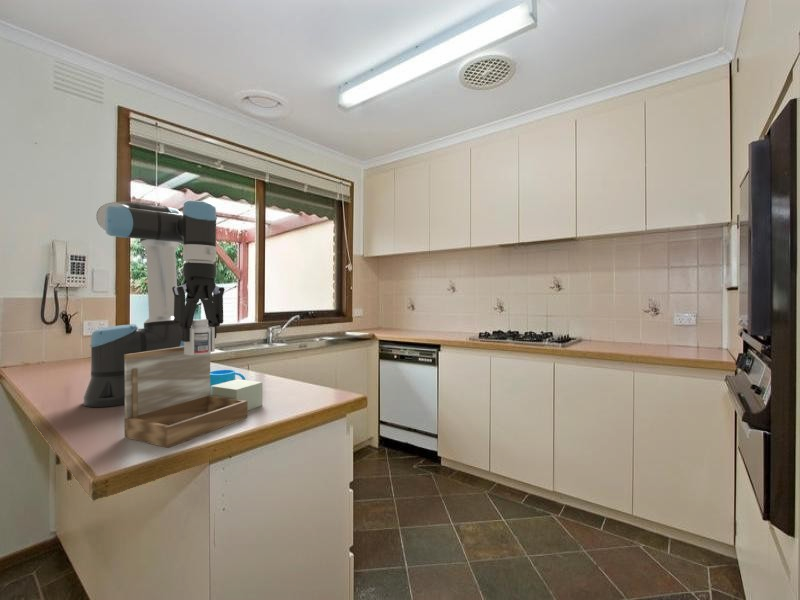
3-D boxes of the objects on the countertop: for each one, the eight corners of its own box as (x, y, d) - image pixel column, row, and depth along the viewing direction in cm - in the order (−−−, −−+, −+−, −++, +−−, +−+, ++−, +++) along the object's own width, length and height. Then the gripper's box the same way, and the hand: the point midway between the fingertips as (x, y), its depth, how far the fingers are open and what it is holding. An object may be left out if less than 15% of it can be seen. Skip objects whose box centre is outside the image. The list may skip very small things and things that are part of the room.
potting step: (210, 410, 112) (210, 386, 112) (237, 401, 121) (237, 379, 121) (236, 414, 108) (236, 389, 108) (262, 405, 117) (262, 382, 117)
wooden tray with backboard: (124, 437, 91) (124, 354, 90) (207, 410, 112) (207, 343, 112) (168, 447, 85) (167, 359, 84) (247, 417, 106) (247, 346, 106)
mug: (213, 402, 120) (213, 375, 120) (204, 396, 126) (203, 372, 126) (250, 395, 129) (250, 370, 129) (240, 390, 135) (240, 367, 135)
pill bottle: (193, 352, 102) (193, 318, 102) (214, 352, 103) (214, 319, 102) (184, 355, 97) (184, 320, 97) (205, 355, 97) (205, 320, 97)
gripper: (176, 259, 89) (176, 359, 90) (238, 265, 106) (238, 349, 107) (155, 260, 93) (155, 356, 93) (219, 265, 109) (219, 347, 110)
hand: (199, 352), depth 100 cm, fingers closed on pill bottle, 5 cm apart
